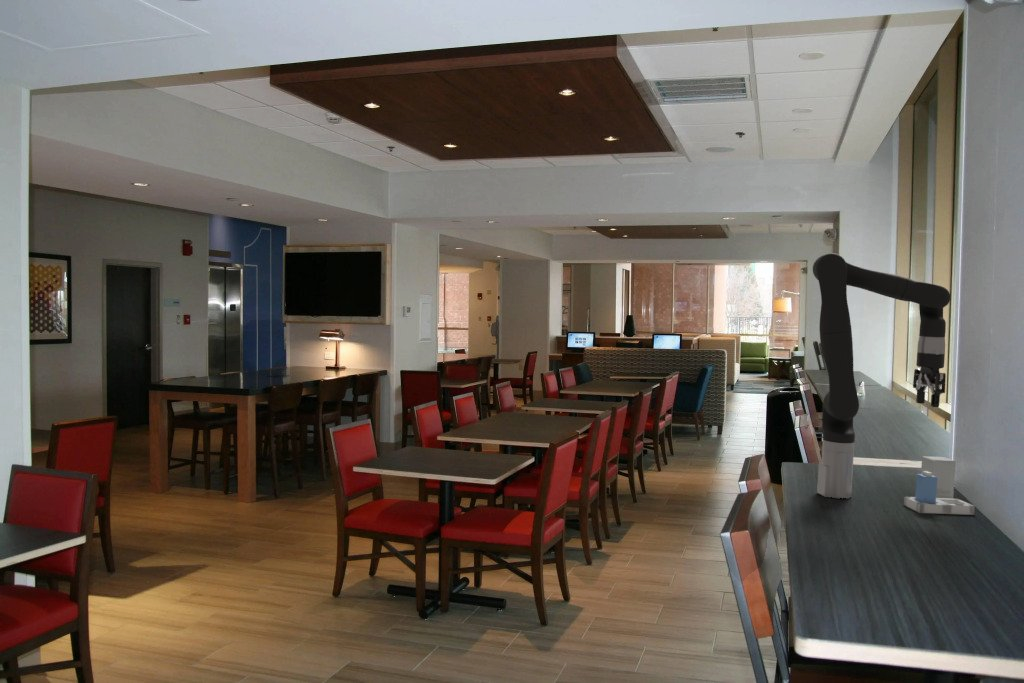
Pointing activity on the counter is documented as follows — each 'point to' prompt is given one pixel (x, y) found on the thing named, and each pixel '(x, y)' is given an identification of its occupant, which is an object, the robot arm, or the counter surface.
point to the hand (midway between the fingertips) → (927, 405)
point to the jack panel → (940, 506)
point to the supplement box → (941, 474)
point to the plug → (926, 487)
